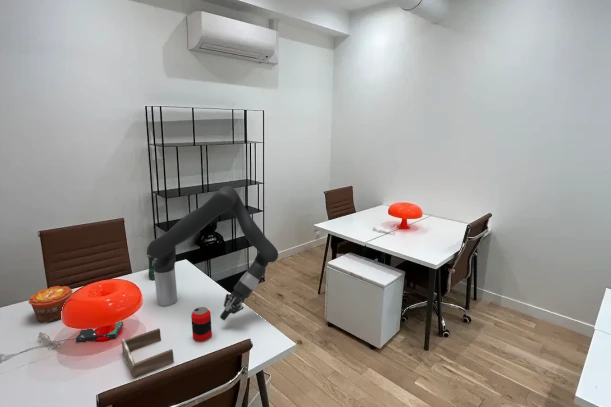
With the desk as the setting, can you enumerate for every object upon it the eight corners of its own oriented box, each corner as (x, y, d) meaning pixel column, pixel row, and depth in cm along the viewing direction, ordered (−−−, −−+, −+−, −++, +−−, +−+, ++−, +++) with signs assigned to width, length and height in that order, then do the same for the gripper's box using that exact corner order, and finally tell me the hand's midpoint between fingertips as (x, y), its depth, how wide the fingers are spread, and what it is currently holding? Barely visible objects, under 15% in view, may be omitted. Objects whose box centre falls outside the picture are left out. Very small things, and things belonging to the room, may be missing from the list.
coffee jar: (148, 281, 190) (145, 249, 186) (149, 275, 198) (145, 244, 193) (167, 278, 194) (164, 247, 190) (167, 272, 201) (164, 242, 197)
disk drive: (76, 344, 139) (116, 339, 142) (75, 338, 138) (115, 333, 141) (86, 329, 149) (123, 325, 152) (84, 323, 148) (122, 319, 151)
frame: (123, 352, 134) (121, 339, 132) (160, 338, 142) (158, 326, 141) (133, 378, 121) (131, 365, 119) (173, 362, 129) (172, 349, 127)
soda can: (199, 329, 149) (197, 304, 146) (215, 332, 146) (213, 307, 144) (189, 340, 142) (187, 314, 139) (205, 343, 139) (203, 317, 137)
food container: (35, 311, 161) (31, 290, 158) (76, 302, 169) (73, 282, 166) (29, 329, 147) (24, 306, 145) (74, 318, 155) (70, 297, 152)
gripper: (234, 275, 155) (209, 308, 151) (248, 286, 145) (222, 322, 141) (244, 282, 160) (221, 315, 156) (259, 294, 150) (234, 329, 145)
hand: (222, 318), depth 148 cm, fingers closed
